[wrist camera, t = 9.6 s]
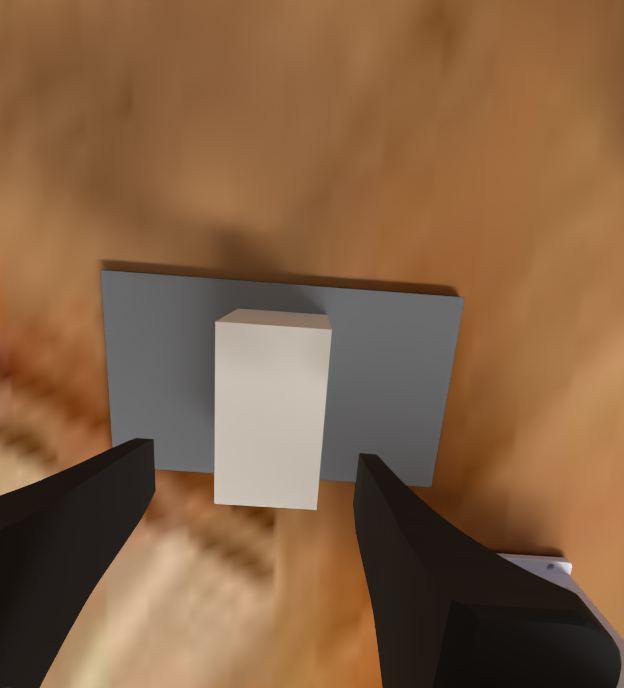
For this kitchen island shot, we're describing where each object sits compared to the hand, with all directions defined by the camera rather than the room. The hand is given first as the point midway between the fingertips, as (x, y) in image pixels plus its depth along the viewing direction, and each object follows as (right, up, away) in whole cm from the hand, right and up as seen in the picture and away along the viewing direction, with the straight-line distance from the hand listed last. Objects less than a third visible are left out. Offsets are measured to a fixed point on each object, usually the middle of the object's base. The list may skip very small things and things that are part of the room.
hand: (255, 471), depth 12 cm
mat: (0, +2, +9) cm, 9 cm away
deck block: (0, +2, +8) cm, 8 cm away
